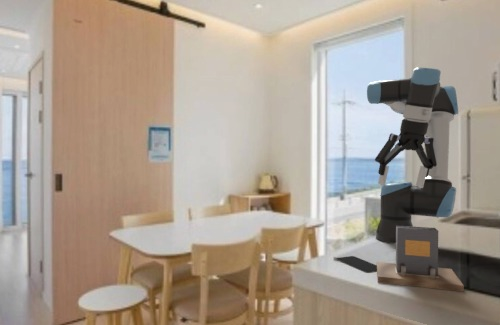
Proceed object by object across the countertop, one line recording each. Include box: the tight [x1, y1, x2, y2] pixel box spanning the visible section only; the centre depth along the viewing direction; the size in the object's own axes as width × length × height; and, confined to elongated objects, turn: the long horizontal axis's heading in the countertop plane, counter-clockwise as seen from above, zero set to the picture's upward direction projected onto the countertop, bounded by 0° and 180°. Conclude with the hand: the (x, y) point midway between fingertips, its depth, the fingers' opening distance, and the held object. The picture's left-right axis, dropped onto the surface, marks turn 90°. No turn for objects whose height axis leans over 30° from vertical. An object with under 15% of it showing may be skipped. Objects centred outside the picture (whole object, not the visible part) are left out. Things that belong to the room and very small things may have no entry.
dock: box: [376, 261, 465, 292], centre depth 97 cm, size 20×14×4 cm
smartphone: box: [336, 255, 377, 274], centre depth 110 cm, size 7×1×15 cm
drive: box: [395, 226, 439, 276], centre depth 98 cm, size 10×5×12 cm, turn 72°
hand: (400, 185), depth 114 cm, fingers open, 13 cm apart
